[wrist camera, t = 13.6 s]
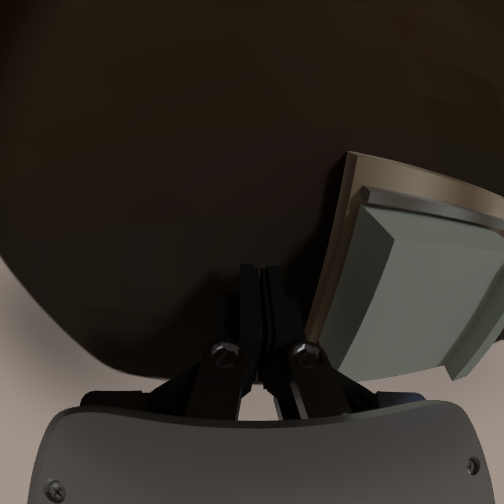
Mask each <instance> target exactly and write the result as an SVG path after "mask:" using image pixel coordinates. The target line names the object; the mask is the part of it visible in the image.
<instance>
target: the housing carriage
mask: <svg viewBox="0 0 504 504" xmlns="http://www.w3.org/2000/svg"><path fill="white" fill-rule="evenodd" d="M503 328H504V239H503V238H502V237H501V236H500V235H499V234H497V233H496V232H495V231H494V230H492V229H491V228H489V227H484V226H480V225H476V224H471V223H467V222H462V221H457V220H453V219H448V218H443V217H438V216H432V215H427V214H421V213H416V212H410V211H404V210H398V209H392V208H385V207H379V206H372V205H365V204H360V207H359V211H358V215H357V219H356V223H355V227H354V231H353V235H352V238H351V242H350V246H349V249H348V253H347V256H346V260H345V263H344V266H343V270H342V273H341V276H340V279H339V282H338V286H337V289H336V292H335V295H334V298H333V301H332V304H331V307H330V310H329V312H328V315H327V318H326V321H325V324H324V326H323V329H322V332H321V335H320V337H319V344H320V347H322V348H323V350H324V351H325V353H326V355H327V357H328V359H329V361H330V363H331V365H332V367H333V368H334V369H336V370H337V371H339V372H340V373H342V374H344V375H345V376H347V377H349V378H350V379H352V380H353V381H355V382H359V381H366V380H373V379H380V378H386V377H391V376H397V375H402V374H407V373H412V372H417V371H421V370H425V369H430V368H434V367H438V366H442V365H444V366H445V368H446V370H447V372H448V373H449V375H450V378H451V379H452V381H454V380H457V379H460V378H462V377H465V376H467V375H468V374H469V373H470V371H471V370H472V369H473V368H474V367H475V365H476V364H477V363H478V362H479V361H480V359H481V358H482V357H483V356H484V354H485V353H486V352H487V350H488V349H489V348H490V347H491V345H492V344H493V343H494V341H495V340H496V338H497V337H498V336H499V334H500V333H501V331H502V330H503Z"/></svg>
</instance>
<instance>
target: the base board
mask: <svg viewBox="0 0 504 504" xmlns="http://www.w3.org/2000/svg"><path fill="white" fill-rule="evenodd" d="M360 204H365V205H372V206H379V207H385V208H392V209H398V210H404V211H410V212H416V213H421V214H427V215H432V216H438V217H443V218H448V219H453V220H457V221H462V222H467V223H471V224H476V225H480V226H484V227H489V228H491V229H492V230H494V231H495V232H496V233H497V234H499V235H500V236H501V237H502V238H503V239H504V197H502V196H499V195H497V194H495V193H492V192H490V191H487V190H485V189H482V188H480V187H477V186H474V185H472V184H469V183H466V182H463V181H461V180H458V179H455V178H452V177H449V176H446V175H443V174H439V173H436V172H433V171H430V170H426V169H423V168H419V167H416V166H412V165H408V164H405V163H401V162H397V161H393V160H389V159H384V158H380V157H375V156H371V155H366V154H361V153H356V152H351V151H347V157H346V163H345V168H344V174H343V179H342V184H341V189H340V194H339V199H338V204H337V209H336V213H335V218H334V222H333V227H332V231H331V235H330V240H329V244H328V248H327V252H326V256H325V260H324V264H323V268H322V271H321V275H320V279H319V283H318V286H317V290H316V293H315V297H314V300H313V304H312V307H311V311H310V314H309V317H308V321H307V324H306V327H305V335H306V339H307V341H310V342H314V343H316V344H318V345H319V346H320V344H319V337H320V335H321V332H322V329H323V326H324V324H325V321H326V318H327V315H328V312H329V310H330V307H331V304H332V301H333V298H334V295H335V292H336V289H337V286H338V282H339V279H340V276H341V273H342V270H343V266H344V263H345V260H346V256H347V253H348V249H349V246H350V242H351V238H352V235H353V231H354V227H355V223H356V219H357V215H358V211H359V207H360ZM500 336H501V337H502V338H503V340H504V328H503V330H502V331H501V333H500Z"/></svg>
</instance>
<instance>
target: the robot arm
mask: <svg viewBox="0 0 504 504" xmlns="http://www.w3.org/2000/svg"><path fill="white" fill-rule="evenodd" d="M257 367H258V381H259V382H263V387H264V389H267V391H268V392H269V393H271V394H272V395H273V396H274V403H275V407H276V411H277V414H278V418H279V420H278V421H238V415H239V409H240V403H241V398H243V397H244V396H245V395H246V394H247V393H249V392H250V391H251V387H252V382H255V378H256V372H257ZM27 504H495V500H494V493H493V488H492V483H491V478H490V475H489V470H488V467H487V463H486V460H485V457H484V453H483V450H482V447H481V444H480V441H479V439H478V436H477V434H476V431H475V429H474V427H473V425H472V423H471V421H470V419H469V417H468V415H467V414H466V413H465V411H464V410H463V409H462V408H461V407H460V406H458V405H457V404H454V403H451V402H447V401H440V400H426V399H425V398H424V397H423V396H422V395H420V394H419V393H409V392H408V393H406V392H380V391H377V393H376V394H375V393H372V392H371V391H369V390H368V389H367V388H365V387H363V386H362V385H360V384H358V383H357V382H355V381H353V380H352V379H350V378H349V377H347V376H345V375H344V374H342V373H340V372H339V371H337V370H336V369H334V368H333V367H332V365H331V363H330V361H329V359H328V357H327V355H326V353H325V351H324V350H323V348H322V347H320V346H319V345H318V344H316V343H314V342H310V341H307V339H306V335H305V330H304V326H303V322H302V318H301V313H300V309H299V305H298V301H297V298H296V297H295V296H285V291H284V286H283V281H282V276H281V271H280V267H279V266H268V265H267V266H266V269H261V275H260V283H259V275H258V268H253V265H250V264H240V275H239V288H238V294H230V293H221V299H220V310H219V321H218V333H217V340H216V341H214V342H211V343H210V344H209V345H208V346H207V347H206V349H205V351H204V354H203V357H202V360H201V361H200V362H198V363H196V364H195V365H193V366H192V367H190V368H189V369H187V370H185V371H184V372H182V373H180V374H179V375H177V376H176V377H174V378H172V379H171V380H169V381H167V382H166V383H164V384H162V385H161V386H159V387H157V388H156V389H154V390H153V391H152V392H150V393H142V391H91V392H89V393H87V394H85V395H84V397H83V398H82V399H81V403H80V406H78V407H72V408H69V409H65V410H63V411H61V412H59V413H58V414H57V415H55V416H54V418H53V419H52V420H51V422H50V423H49V425H48V427H47V429H46V431H45V433H44V436H43V438H42V441H41V444H40V446H39V449H38V453H37V457H36V460H35V463H34V467H33V472H32V477H31V483H30V488H29V495H28V502H27Z"/></svg>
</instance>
